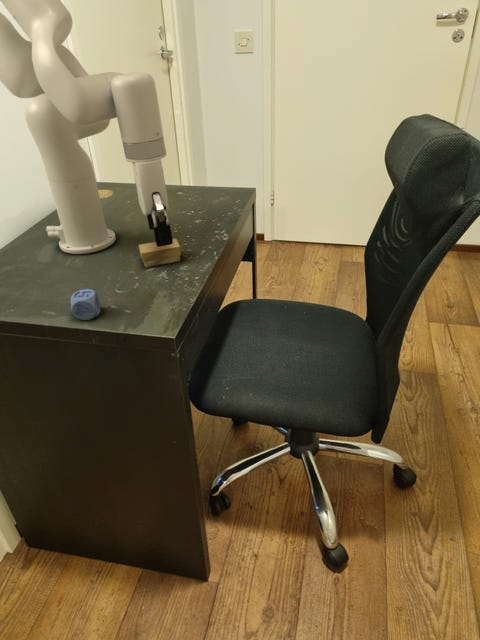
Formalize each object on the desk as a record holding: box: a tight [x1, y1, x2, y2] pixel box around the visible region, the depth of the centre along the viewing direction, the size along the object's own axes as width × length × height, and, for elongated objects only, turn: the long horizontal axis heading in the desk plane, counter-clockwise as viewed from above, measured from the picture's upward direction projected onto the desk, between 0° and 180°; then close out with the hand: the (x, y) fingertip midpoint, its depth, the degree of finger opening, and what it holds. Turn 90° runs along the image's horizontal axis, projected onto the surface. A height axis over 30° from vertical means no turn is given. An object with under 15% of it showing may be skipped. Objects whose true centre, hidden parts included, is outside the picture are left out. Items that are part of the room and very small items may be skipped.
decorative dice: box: [70, 288, 101, 321], centre depth 81 cm, size 4×4×4 cm
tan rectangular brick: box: [138, 238, 182, 268], centre depth 98 cm, size 8×4×3 cm, turn 108°
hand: (160, 236), depth 95 cm, fingers open, 9 cm apart
